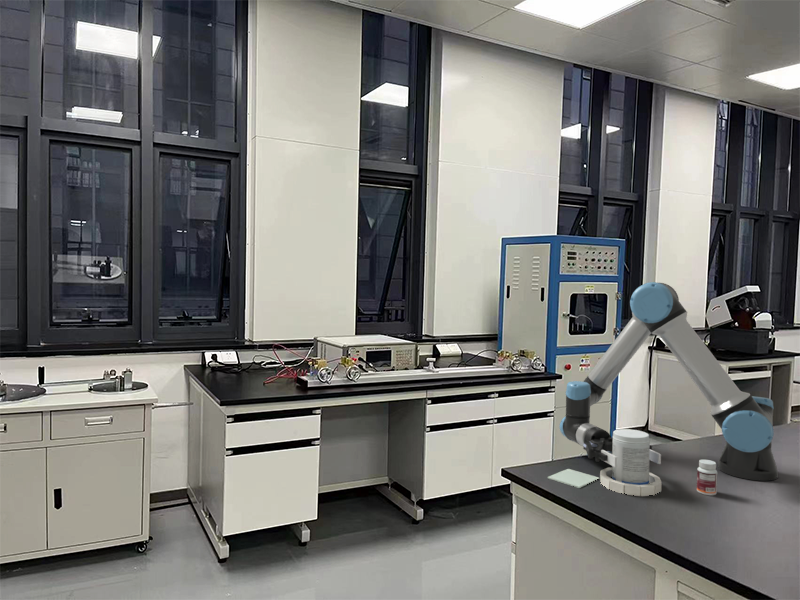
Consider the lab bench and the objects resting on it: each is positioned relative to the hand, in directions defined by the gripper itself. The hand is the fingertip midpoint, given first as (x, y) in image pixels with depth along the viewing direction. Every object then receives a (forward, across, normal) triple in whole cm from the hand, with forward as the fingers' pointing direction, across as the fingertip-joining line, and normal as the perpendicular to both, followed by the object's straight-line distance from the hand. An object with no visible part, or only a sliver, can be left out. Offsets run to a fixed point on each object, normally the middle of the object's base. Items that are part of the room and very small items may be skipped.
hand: (638, 460), depth 153 cm
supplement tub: (-3, 0, -8) cm, 9 cm away
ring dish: (-3, 0, -8) cm, 9 cm away
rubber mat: (-11, +13, -8) cm, 19 cm away
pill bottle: (+5, -17, -8) cm, 20 cm away
